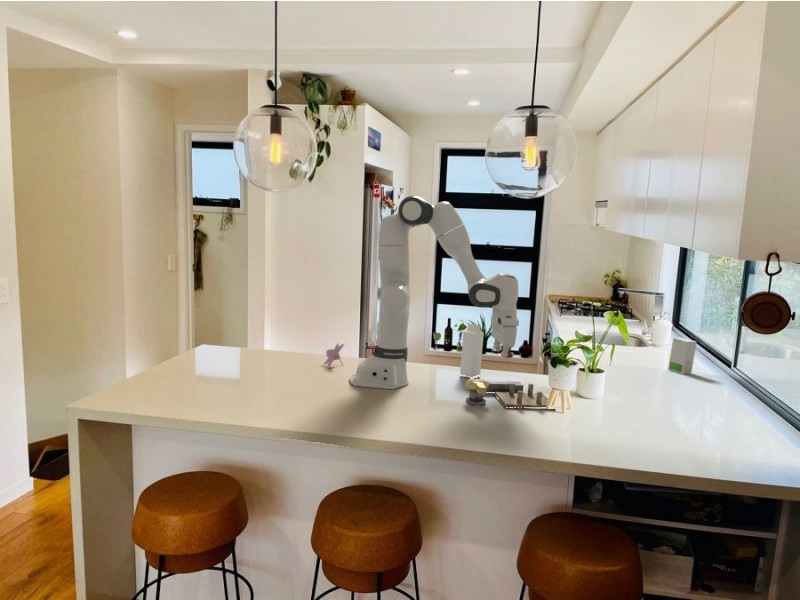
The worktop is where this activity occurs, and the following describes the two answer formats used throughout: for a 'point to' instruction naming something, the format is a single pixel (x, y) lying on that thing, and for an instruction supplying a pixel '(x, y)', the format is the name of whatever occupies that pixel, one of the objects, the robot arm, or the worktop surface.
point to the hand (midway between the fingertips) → (501, 353)
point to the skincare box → (682, 355)
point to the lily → (333, 355)
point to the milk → (471, 351)
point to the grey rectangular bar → (504, 386)
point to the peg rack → (522, 398)
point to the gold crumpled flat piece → (477, 385)
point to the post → (475, 398)
